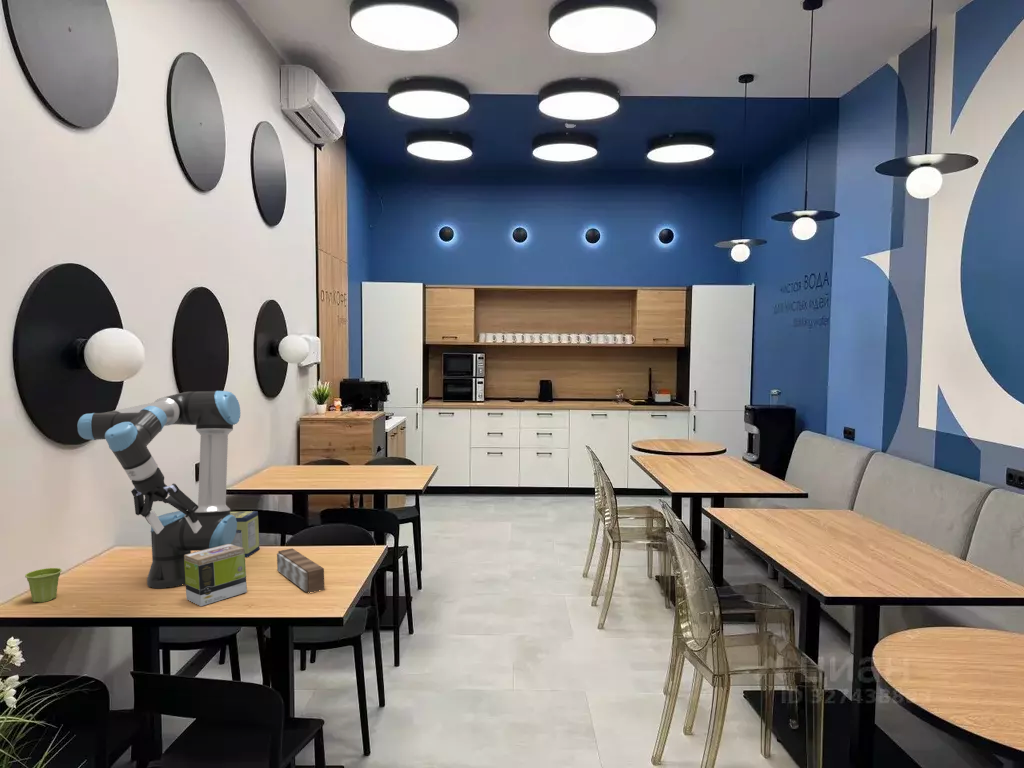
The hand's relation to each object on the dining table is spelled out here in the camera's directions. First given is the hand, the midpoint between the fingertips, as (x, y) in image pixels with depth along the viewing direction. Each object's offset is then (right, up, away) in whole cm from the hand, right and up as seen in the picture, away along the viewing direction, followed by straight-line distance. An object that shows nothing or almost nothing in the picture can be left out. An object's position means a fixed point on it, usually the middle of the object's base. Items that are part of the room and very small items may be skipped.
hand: (179, 530), depth 188 cm
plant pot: (-50, -25, +14) cm, 58 cm away
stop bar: (+27, -23, +28) cm, 45 cm away
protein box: (-10, -23, +60) cm, 65 cm away
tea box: (+5, -24, +13) cm, 28 cm away
